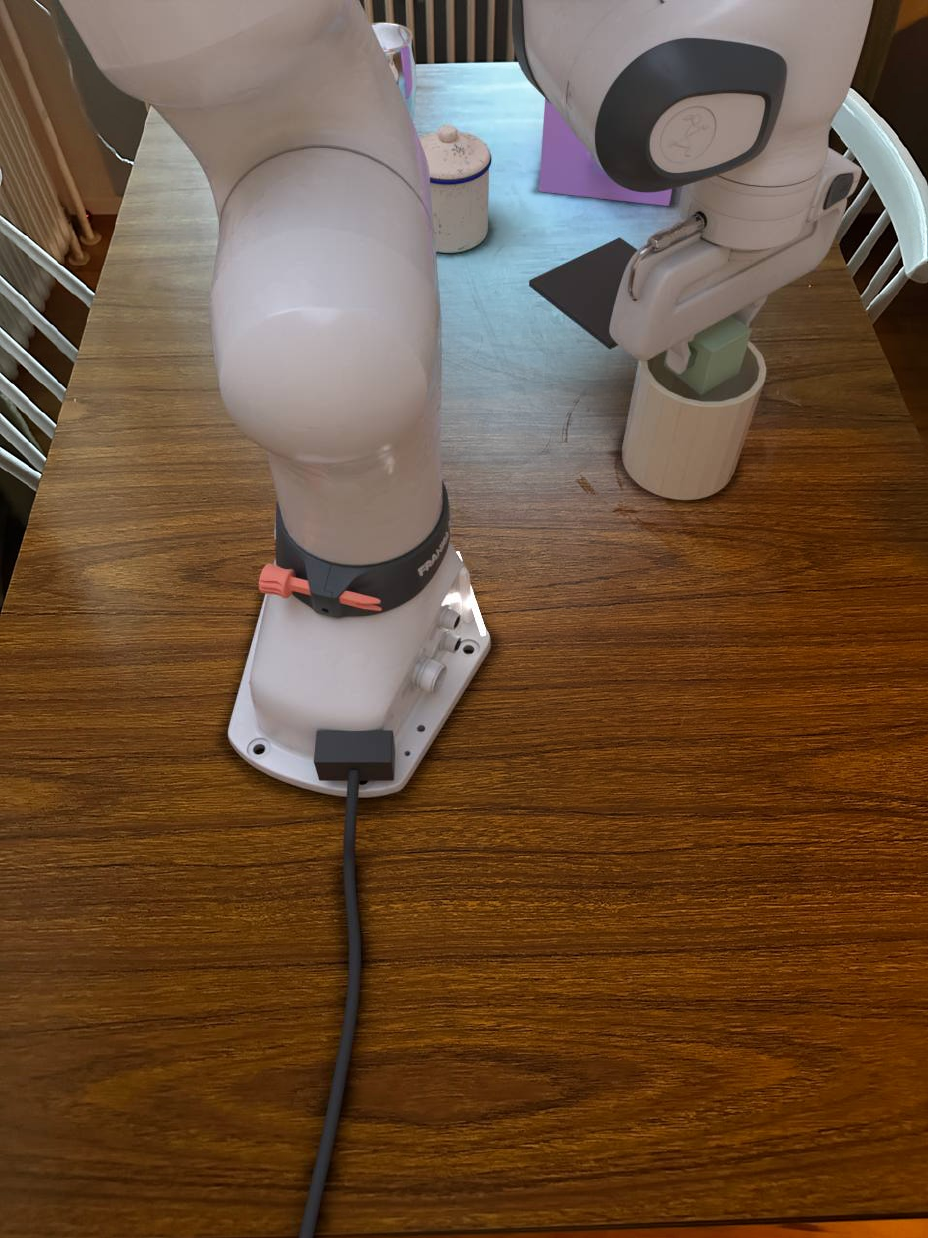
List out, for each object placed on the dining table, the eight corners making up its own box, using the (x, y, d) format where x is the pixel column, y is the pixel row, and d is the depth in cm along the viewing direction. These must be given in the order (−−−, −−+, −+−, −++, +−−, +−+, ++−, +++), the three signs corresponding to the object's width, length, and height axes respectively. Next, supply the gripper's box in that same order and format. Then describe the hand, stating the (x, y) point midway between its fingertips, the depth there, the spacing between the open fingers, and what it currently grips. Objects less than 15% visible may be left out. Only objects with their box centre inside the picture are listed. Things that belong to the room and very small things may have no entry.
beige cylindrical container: (758, 466, 86) (792, 371, 77) (676, 517, 83) (702, 424, 74) (679, 404, 91) (702, 307, 82) (598, 450, 87) (614, 354, 78)
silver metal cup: (353, 162, 115) (340, 28, 103) (406, 149, 117) (399, 15, 104) (374, 192, 111) (363, 56, 99) (429, 178, 113) (425, 43, 101)
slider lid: (701, 301, 82) (710, 264, 79) (609, 350, 78) (615, 313, 75) (618, 242, 87) (624, 205, 84) (528, 285, 83) (530, 249, 80)
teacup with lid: (493, 210, 109) (496, 107, 100) (485, 258, 104) (487, 155, 94) (390, 204, 110) (382, 101, 100) (377, 251, 105) (368, 147, 95)
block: (739, 373, 78) (752, 329, 74) (700, 395, 77) (712, 351, 73) (700, 345, 80) (712, 301, 76) (662, 366, 79) (672, 322, 75)
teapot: (529, 226, 107) (536, 100, 96) (560, 113, 121) (570, -9, 110) (663, 242, 106) (688, 115, 94) (679, 125, 120) (702, 2, 108)
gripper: (669, 269, 61) (637, 428, 72) (878, 163, 68) (819, 324, 79) (603, 222, 63) (582, 383, 75) (810, 125, 70) (762, 286, 82)
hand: (705, 352), depth 77 cm, fingers closed on block, 4 cm apart
